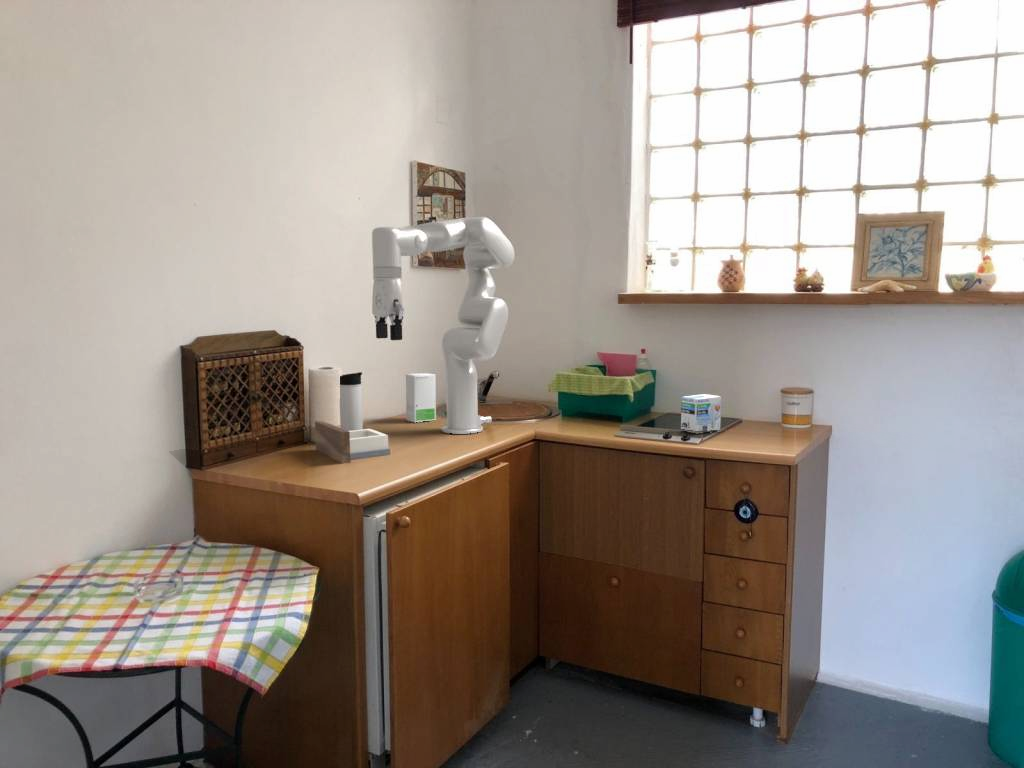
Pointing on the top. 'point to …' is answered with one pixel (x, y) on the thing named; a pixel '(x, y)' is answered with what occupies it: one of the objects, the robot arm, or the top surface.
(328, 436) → the wall
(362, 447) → the socket block
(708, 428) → the light bulb box
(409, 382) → the skincare box
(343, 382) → the travel mug
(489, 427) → the top surface
